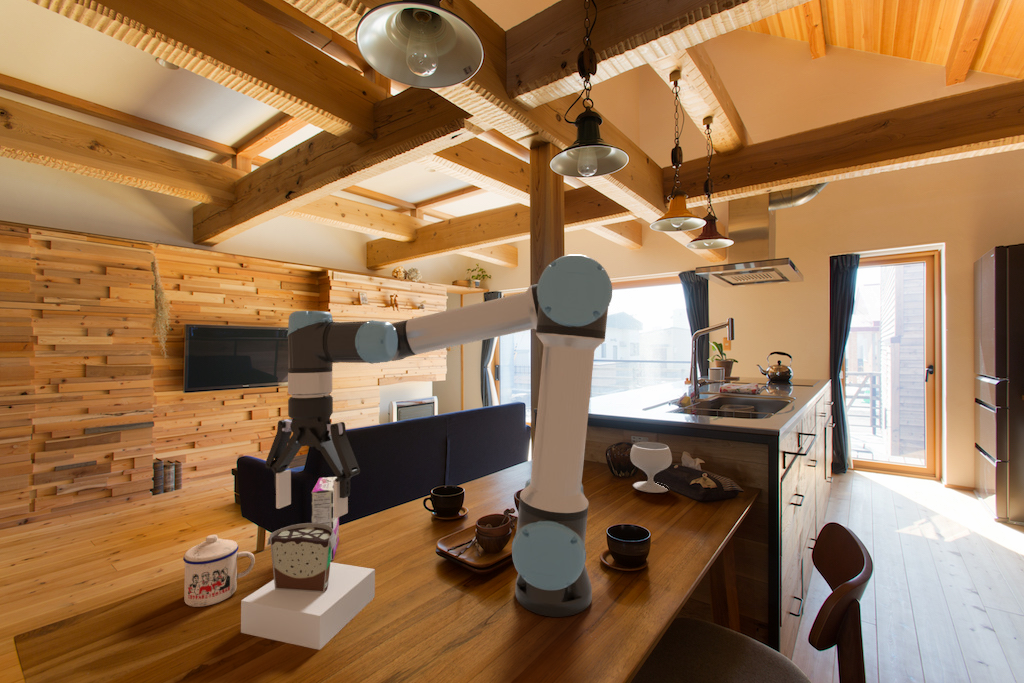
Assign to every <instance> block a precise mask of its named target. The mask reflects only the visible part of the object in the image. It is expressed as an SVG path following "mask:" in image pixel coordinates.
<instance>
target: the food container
mask: <svg viewBox="0 0 1024 683" xmlns="http://www.w3.org/2000/svg"><path fill="white" fill-rule="evenodd" d="M335 545H336V538H335V533H334V531H333V529H332V528H331V527H330V526H328V525H326V524H321V523H312V522H305V523H297V524H291V525H288V526H285V527H281V528H280V529H277V530H275V531H273V532H271V533H270V534H269V537H268V539H267V544H266V546H270V553H271V563H272V572H273V573H272V574H273V580H274V584H275V590H288V591H303V592H318V593H325V591H326V590H327V588H328V582H329V572H330V562H332V561H331V552H332V549H333V548H334V546H335Z"/></svg>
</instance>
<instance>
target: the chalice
mask: <svg viewBox="0 0 1024 683" xmlns="http://www.w3.org/2000/svg"><path fill="white" fill-rule="evenodd" d="M629 455H630V456H629V457H630V458H629V459H630V461H631V463H632V464H633V465H634V467H637V468H638V469H640V470H641V471H643V472H644V473H645V474H646V475H647V481H646V480H645V481H636V482H634V483H633V484H632V487H633V488H634V489H635V490H637V491H641V492H645V493H651V494H652V493H654V494H655V493H656V494H658V493H659V494H660V493H667V492H668V491H669V490H668V489H667V488H665V487H664V486H661V485H659V484H657V483H658V482H657V483H655V482H656V481H654V477H655V475H656V474H658V473H660V472H663V471H664V470H666V469H668V468H669V467H670V466H671V465H672V462H673V457H672V456H673V455H672V452H671V449H670V447H669V445H667V444H665V443H661V442H655V441H637V442H635V443H633V444H632V447H631V449H630V454H629Z"/></svg>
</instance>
